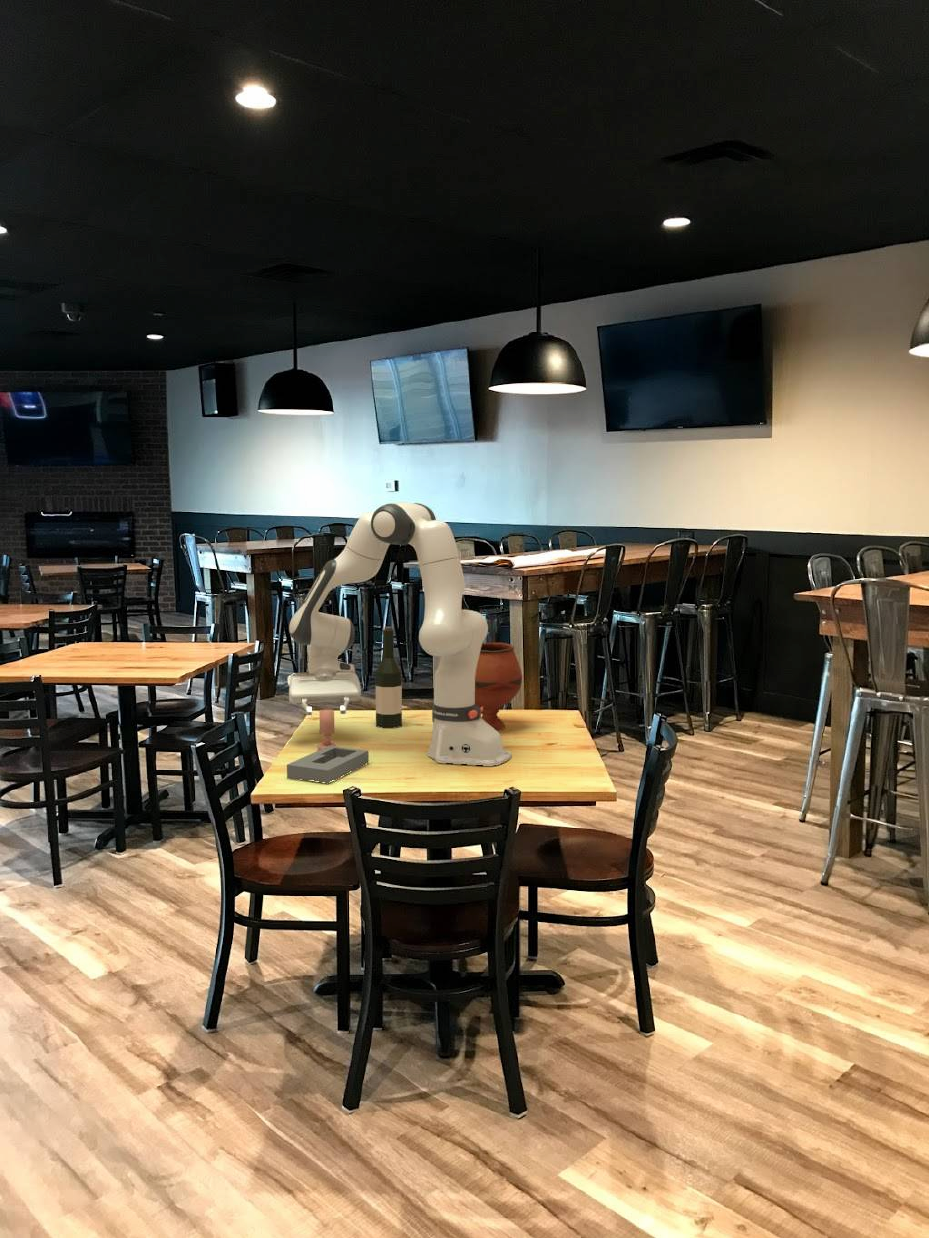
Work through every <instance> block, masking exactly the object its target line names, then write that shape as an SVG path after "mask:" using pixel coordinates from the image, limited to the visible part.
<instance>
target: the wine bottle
mask: <svg viewBox="0 0 929 1238" xmlns="http://www.w3.org/2000/svg"><path fill="white" fill-rule="evenodd" d="M394 632H395V631H394V629H393V627H392V626H384V627H383V629H382V659H381V660H380V663H379V664H378V666H377V668H376V670H375V673H374V674H375V727H377V726H379V727H378V728H381V727H382V729H395V728H394V727H396V728H399V727H398V726H400V727H402V726H403V702H402V701H403V697H402V696H403V695H402V693H403V691H402V689H403V685H402V684H403V683H402V681H403V680H402V677H403V676H402V674H403V673H402V672H403V671H402V668H401V667H400V665H399V663H398V661H397V660H396V657H395V651H394V650H395V646H394V636H395V634H394Z"/></svg>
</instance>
